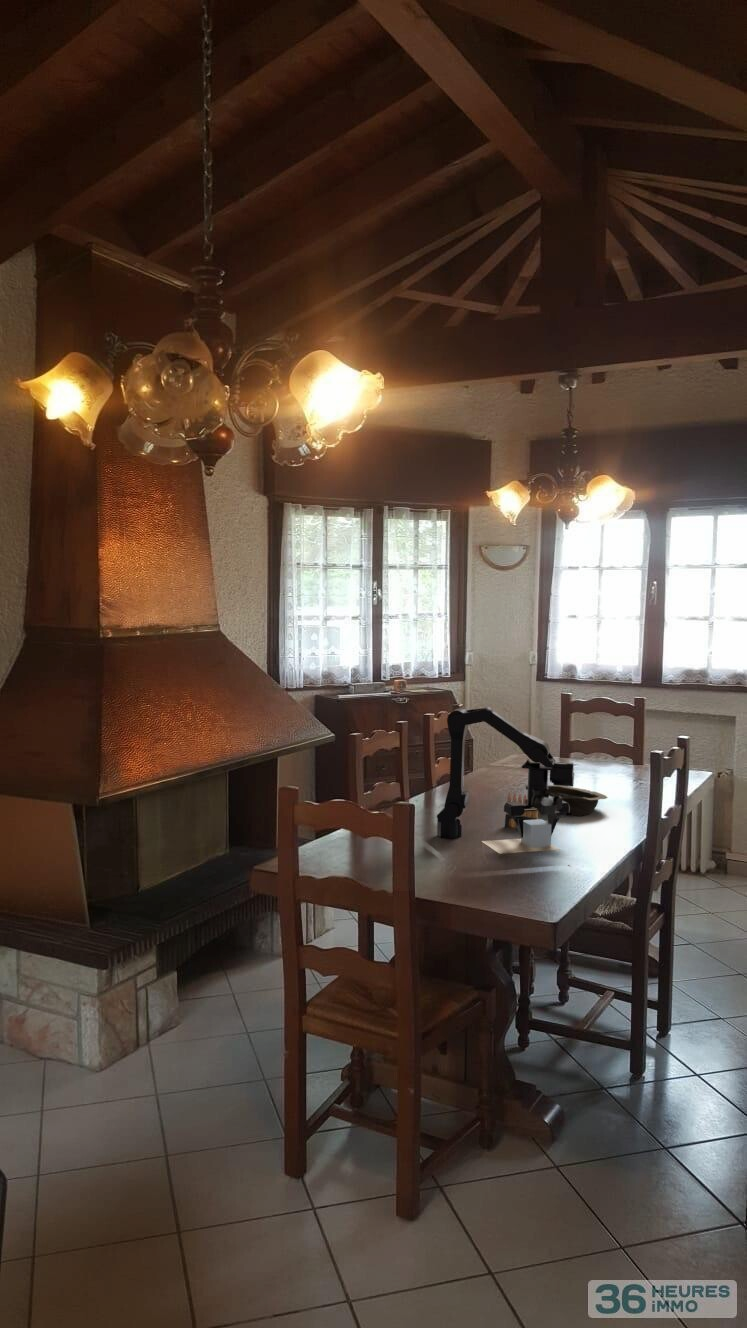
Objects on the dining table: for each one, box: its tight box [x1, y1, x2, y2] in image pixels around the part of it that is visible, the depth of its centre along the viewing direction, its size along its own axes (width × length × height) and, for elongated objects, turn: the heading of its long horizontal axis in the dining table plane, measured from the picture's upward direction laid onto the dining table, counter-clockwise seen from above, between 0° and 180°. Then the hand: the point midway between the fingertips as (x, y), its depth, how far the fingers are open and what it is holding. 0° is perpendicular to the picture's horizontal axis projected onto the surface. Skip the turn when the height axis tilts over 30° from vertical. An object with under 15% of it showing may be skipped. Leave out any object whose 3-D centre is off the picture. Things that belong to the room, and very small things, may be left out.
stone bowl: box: [548, 784, 609, 817], centre depth 312 cm, size 25×25×9 cm
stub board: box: [481, 838, 561, 855], centre depth 263 cm, size 19×13×5 cm
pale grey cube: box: [520, 818, 552, 848], centre depth 264 cm, size 6×6×6 cm
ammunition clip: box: [504, 792, 539, 829], centre depth 283 cm, size 11×2×12 cm, turn 60°
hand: (535, 836), depth 264 cm, fingers open, 9 cm apart
